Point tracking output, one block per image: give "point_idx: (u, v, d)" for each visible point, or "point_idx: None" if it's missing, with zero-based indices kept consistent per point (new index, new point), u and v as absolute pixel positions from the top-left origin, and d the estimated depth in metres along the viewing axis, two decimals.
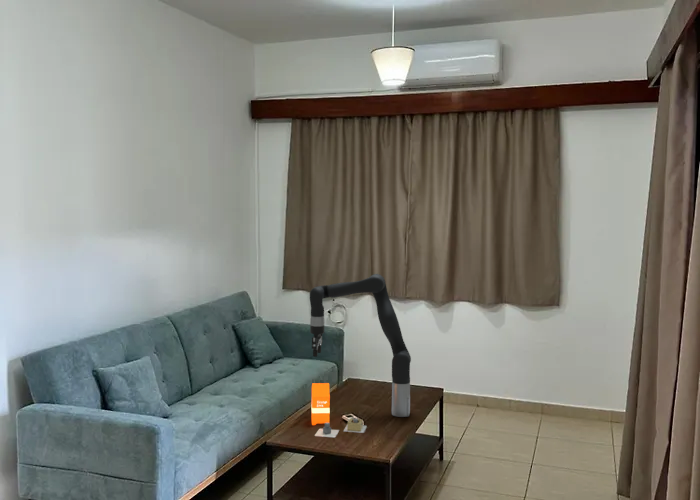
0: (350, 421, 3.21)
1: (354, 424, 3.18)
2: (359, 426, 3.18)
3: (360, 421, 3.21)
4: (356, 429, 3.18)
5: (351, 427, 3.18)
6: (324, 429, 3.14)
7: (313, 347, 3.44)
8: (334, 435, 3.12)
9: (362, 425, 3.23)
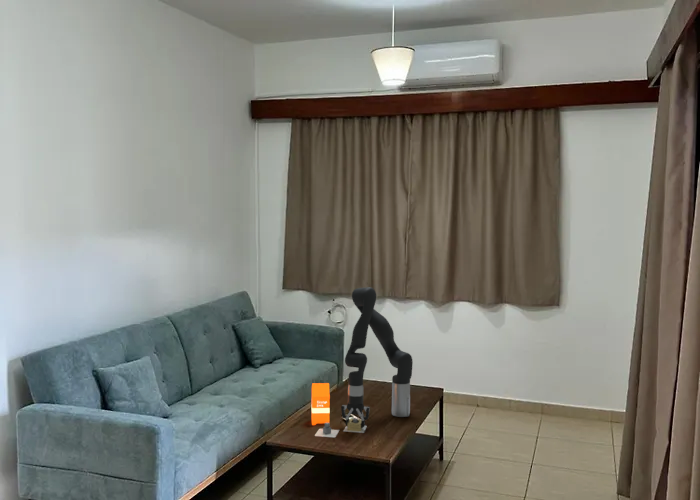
0: (350, 421, 3.21)
1: (354, 424, 3.18)
2: (359, 426, 3.18)
3: (360, 421, 3.21)
4: (356, 429, 3.18)
5: (351, 427, 3.18)
6: (324, 429, 3.14)
7: (367, 417, 3.20)
8: (334, 435, 3.12)
9: None
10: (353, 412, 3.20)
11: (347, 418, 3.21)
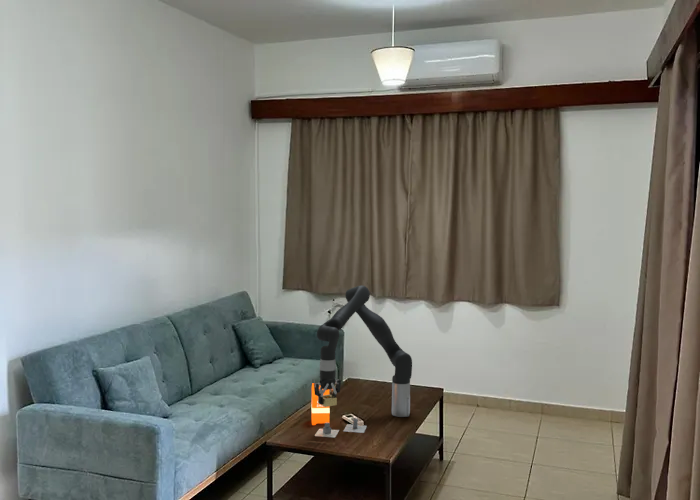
0: (324, 398, 3.12)
1: (331, 399, 3.11)
2: (335, 400, 3.12)
3: (331, 395, 3.15)
4: (333, 404, 3.12)
5: (328, 403, 3.10)
6: (324, 429, 3.14)
7: None
8: (334, 435, 3.12)
9: None
10: (327, 388, 3.12)
11: (322, 395, 3.10)
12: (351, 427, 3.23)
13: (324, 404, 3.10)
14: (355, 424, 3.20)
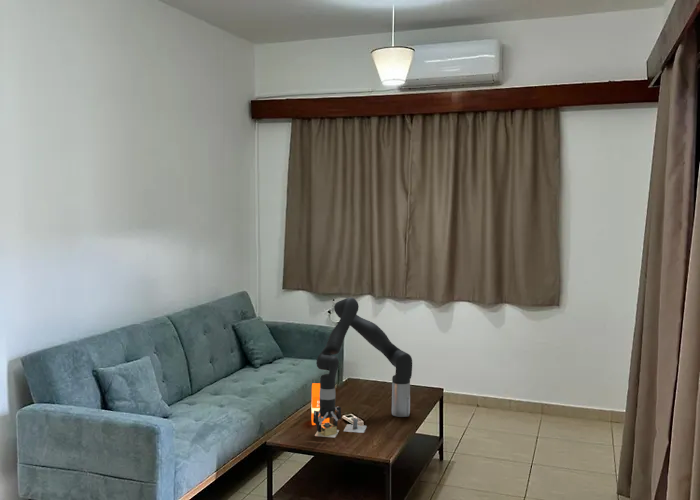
0: (324, 427, 3.13)
1: (331, 428, 3.12)
2: (335, 429, 3.14)
3: (331, 424, 3.16)
4: (332, 433, 3.13)
5: (328, 432, 3.11)
6: None
7: None
8: (334, 435, 3.12)
9: None
10: (326, 416, 3.13)
11: (320, 423, 3.11)
12: (351, 427, 3.23)
13: (324, 433, 3.11)
14: (355, 424, 3.20)
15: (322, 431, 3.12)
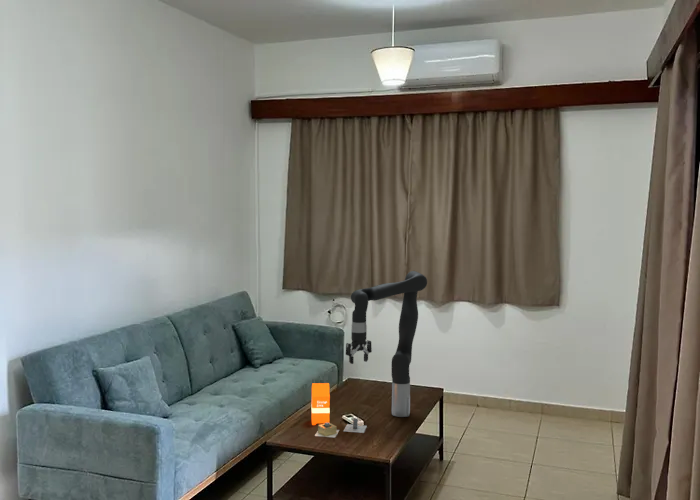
0: (324, 427, 3.13)
1: (331, 428, 3.12)
2: (335, 429, 3.14)
3: (331, 424, 3.16)
4: (332, 433, 3.13)
5: (328, 432, 3.11)
6: None
7: None
8: (334, 435, 3.12)
9: None
10: (358, 349, 3.30)
11: (352, 355, 3.28)
12: (351, 427, 3.23)
13: (324, 433, 3.11)
14: (355, 424, 3.20)
15: (322, 431, 3.12)
